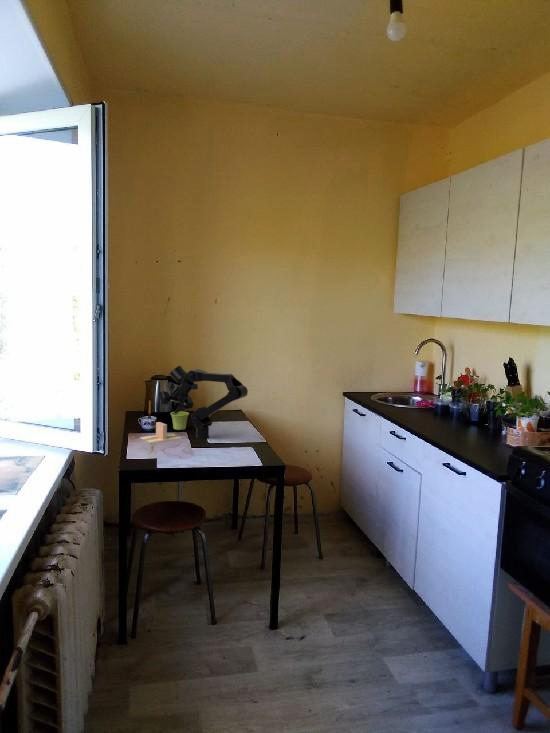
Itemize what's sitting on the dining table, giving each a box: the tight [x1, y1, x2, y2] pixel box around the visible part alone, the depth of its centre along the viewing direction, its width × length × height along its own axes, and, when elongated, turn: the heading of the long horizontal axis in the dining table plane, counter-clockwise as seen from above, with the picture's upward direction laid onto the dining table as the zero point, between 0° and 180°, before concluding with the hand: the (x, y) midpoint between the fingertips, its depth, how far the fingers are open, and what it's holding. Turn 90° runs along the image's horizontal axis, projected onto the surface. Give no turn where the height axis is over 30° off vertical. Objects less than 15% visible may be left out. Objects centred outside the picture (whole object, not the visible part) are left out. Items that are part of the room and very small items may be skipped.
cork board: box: [139, 432, 183, 444], centre depth 263 cm, size 12×17×1 cm
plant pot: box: [170, 411, 190, 431], centre depth 283 cm, size 9×9×9 cm
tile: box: [155, 421, 168, 440], centre depth 263 cm, size 7×2×7 cm, turn 40°
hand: (167, 411), depth 274 cm, fingers open, 9 cm apart
